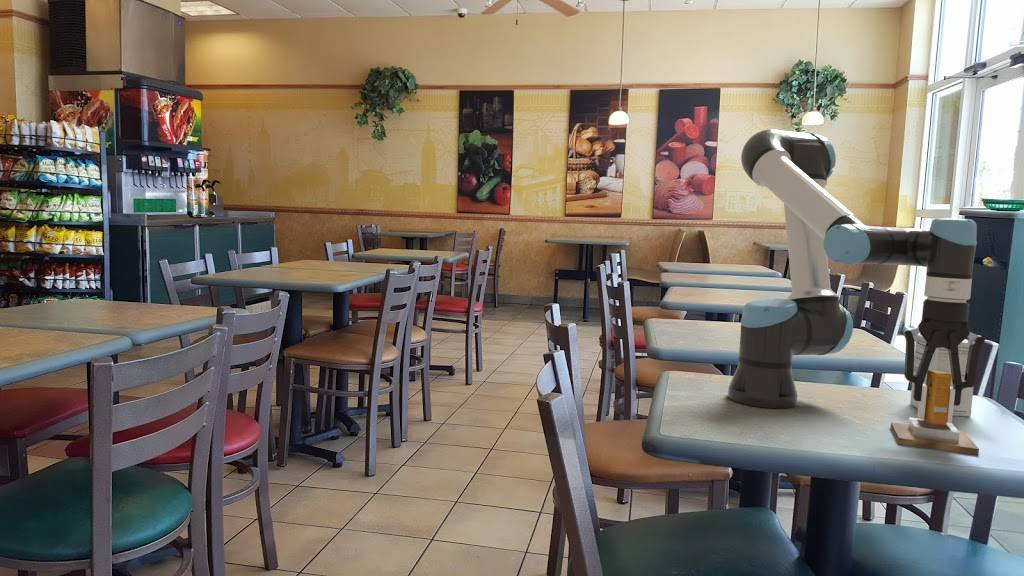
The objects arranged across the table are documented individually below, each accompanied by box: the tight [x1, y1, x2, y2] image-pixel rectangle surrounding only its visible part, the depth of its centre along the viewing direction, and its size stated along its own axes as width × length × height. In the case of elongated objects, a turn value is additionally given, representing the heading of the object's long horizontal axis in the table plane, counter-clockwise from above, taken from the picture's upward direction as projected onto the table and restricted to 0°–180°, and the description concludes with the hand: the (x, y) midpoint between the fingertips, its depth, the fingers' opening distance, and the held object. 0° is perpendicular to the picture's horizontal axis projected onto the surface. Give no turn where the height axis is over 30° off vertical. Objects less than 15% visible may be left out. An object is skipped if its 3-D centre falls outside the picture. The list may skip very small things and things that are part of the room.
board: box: [890, 421, 980, 456], centre depth 137 cm, size 13×12×1 cm
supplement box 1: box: [909, 334, 975, 417], centre depth 161 cm, size 10×9×17 cm
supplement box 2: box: [924, 370, 952, 425], centre depth 136 cm, size 3×3×10 cm
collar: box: [908, 417, 960, 443], centre depth 137 cm, size 7×7×2 cm
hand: (934, 419), depth 137 cm, fingers closed on supplement box 2, 4 cm apart
